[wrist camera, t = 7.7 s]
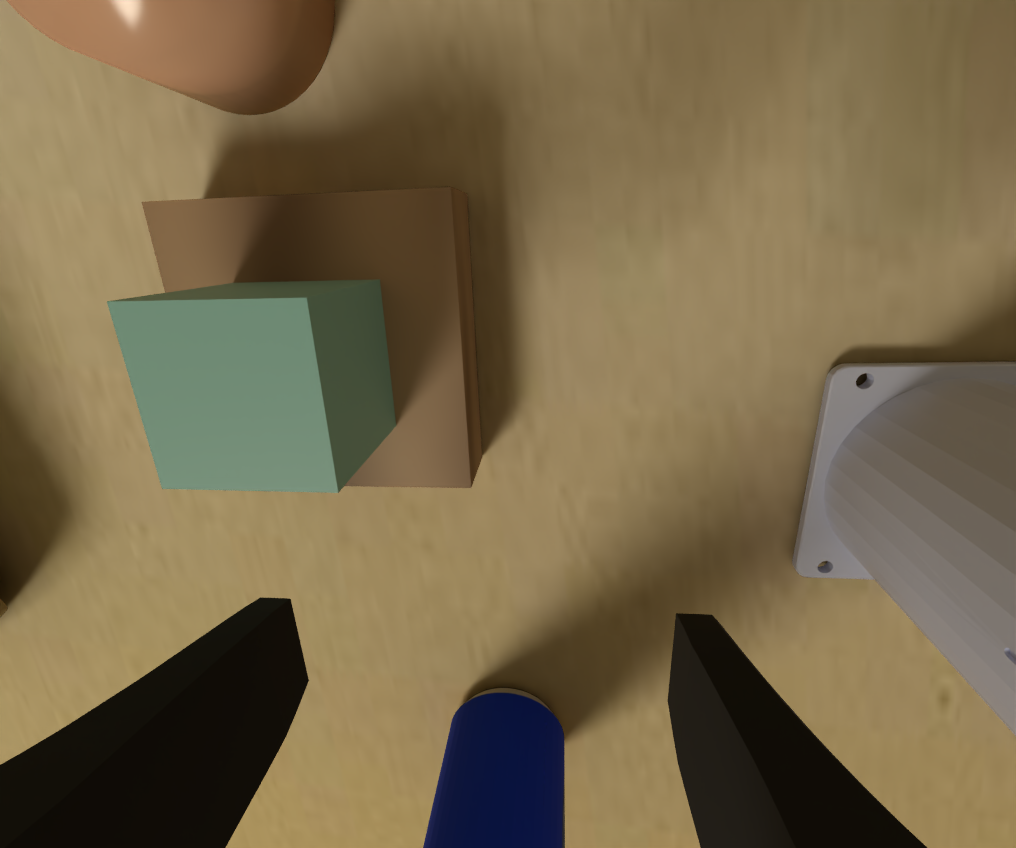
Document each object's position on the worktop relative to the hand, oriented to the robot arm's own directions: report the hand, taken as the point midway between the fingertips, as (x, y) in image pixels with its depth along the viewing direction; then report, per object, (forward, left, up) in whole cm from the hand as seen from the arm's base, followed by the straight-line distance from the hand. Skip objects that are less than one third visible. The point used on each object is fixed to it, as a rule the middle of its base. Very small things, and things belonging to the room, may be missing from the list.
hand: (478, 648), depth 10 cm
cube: (+6, -4, -7) cm, 10 cm away
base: (+6, -4, -10) cm, 12 cm away
